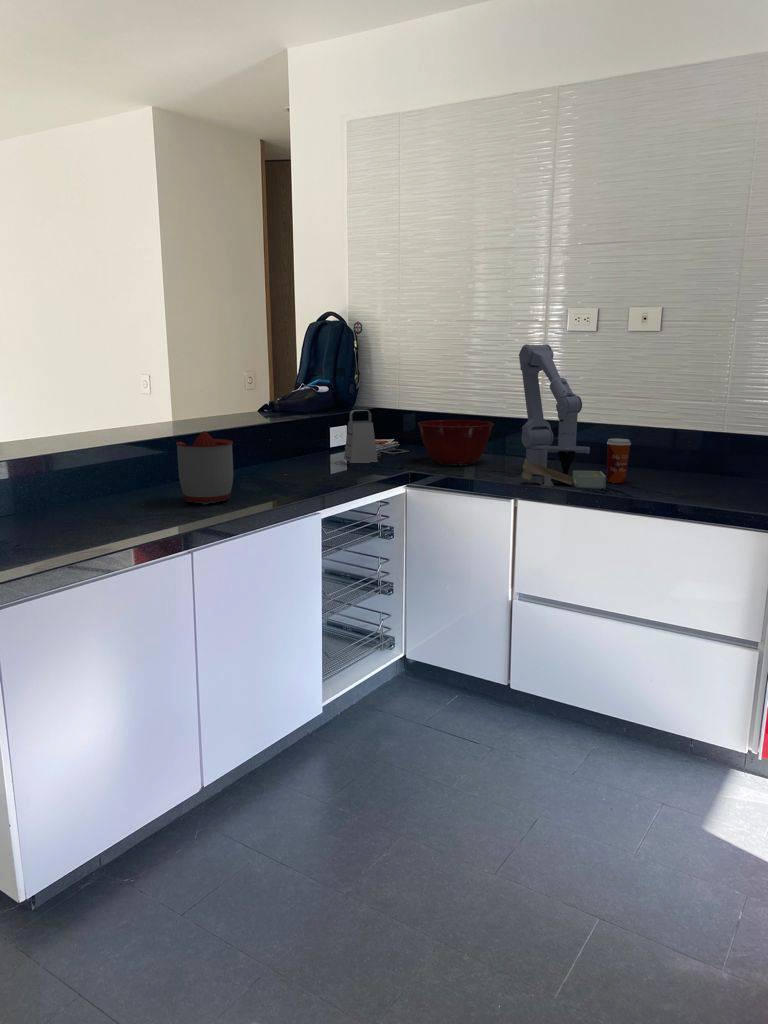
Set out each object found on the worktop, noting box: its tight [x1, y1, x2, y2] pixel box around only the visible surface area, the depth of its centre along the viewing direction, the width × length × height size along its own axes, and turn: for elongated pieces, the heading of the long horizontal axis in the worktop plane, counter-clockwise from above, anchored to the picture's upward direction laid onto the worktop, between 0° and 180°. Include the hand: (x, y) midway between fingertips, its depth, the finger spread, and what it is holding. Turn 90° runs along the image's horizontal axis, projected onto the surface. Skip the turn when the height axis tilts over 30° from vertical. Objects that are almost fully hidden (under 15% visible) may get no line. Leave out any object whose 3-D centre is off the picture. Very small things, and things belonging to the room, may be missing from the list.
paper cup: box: [606, 438, 632, 484], centre depth 243 cm, size 8×8×14 cm
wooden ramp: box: [520, 459, 574, 486], centre depth 243 cm, size 13×16×5 cm
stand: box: [538, 474, 555, 487], centre depth 240 cm, size 8×4×4 cm, turn 173°
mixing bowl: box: [417, 419, 495, 466], centre depth 281 cm, size 28×28×16 cm
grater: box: [343, 409, 379, 463], centre depth 279 cm, size 10×10×20 cm
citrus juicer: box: [175, 431, 234, 502], centre depth 211 cm, size 16×17×20 cm
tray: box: [571, 470, 607, 490], centre depth 238 cm, size 11×9×4 cm
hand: (565, 474), depth 246 cm, fingers closed
